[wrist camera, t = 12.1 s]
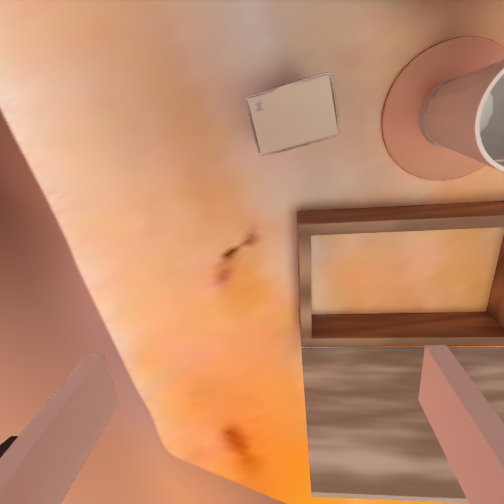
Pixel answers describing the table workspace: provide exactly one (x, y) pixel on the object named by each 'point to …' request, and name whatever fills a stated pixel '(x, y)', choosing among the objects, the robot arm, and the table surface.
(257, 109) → the skincare box
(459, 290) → the table surface
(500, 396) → the hinged wooden box
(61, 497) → the robot arm
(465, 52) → the saucer
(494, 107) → the cup
